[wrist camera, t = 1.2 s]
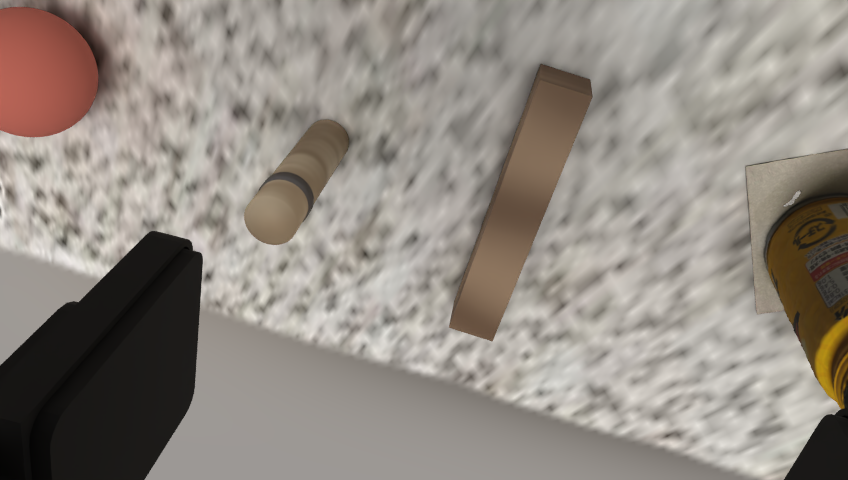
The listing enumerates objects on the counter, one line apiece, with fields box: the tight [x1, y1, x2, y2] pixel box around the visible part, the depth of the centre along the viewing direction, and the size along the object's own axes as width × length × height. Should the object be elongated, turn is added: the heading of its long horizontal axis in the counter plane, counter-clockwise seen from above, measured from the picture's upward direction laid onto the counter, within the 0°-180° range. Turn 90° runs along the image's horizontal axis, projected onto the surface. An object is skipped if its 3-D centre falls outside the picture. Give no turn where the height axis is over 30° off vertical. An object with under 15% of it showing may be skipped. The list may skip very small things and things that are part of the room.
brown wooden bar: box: [449, 64, 593, 341], centre depth 38 cm, size 14×2×2 cm, turn 164°
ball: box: [0, 7, 98, 137], centre depth 36 cm, size 6×6×6 cm
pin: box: [244, 120, 349, 245], centre depth 35 cm, size 2×2×9 cm
